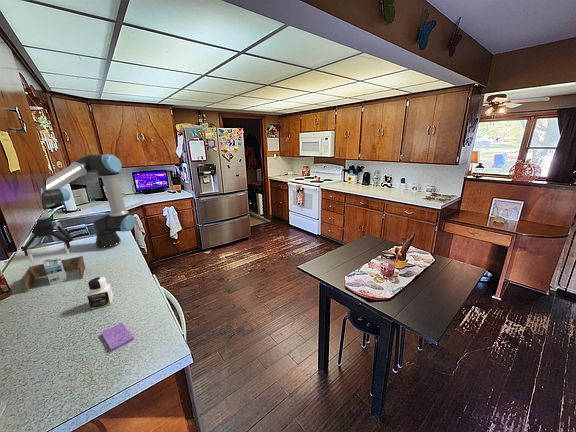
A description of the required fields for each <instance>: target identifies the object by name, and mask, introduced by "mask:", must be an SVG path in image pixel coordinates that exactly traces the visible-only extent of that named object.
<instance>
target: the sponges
mask: <svg viewBox="0 0 576 432" xmlns="http://www.w3.org/2000/svg"><path fill="white" fill-rule="evenodd" d="M100 335H101V337H102V338H103V340H104V342H105V344H106V346H107V347H108V348H109V350H110V352H111V353H113V352H114V351H116V350H118V349H120V348H121V347H124V346H126V345H127V344H129V343H131V342H132V341H134V340H135V339H134V338H135V337H134V336H133V334H132V333H131V332H130V330H129V329H128V328H127V327H126V325H125V324H124V322H119V323H118V324H116V325H113V326H112V327H110V328H107V329H106V330H103V331H101V332H100Z"/></svg>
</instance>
